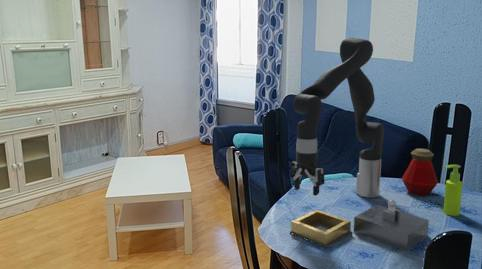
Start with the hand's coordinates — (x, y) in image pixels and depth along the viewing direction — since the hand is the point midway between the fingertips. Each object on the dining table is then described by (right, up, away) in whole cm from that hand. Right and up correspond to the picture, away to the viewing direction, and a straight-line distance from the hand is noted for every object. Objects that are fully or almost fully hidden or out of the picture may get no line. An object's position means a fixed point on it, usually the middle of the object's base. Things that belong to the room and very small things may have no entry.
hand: (306, 192), depth 154 cm
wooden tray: (+5, -14, -2) cm, 15 cm away
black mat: (+5, -15, -2) cm, 16 cm away
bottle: (+57, -5, +36) cm, 68 cm away
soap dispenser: (+60, -10, +13) cm, 62 cm away
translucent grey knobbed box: (+30, -15, -4) cm, 33 cm away
